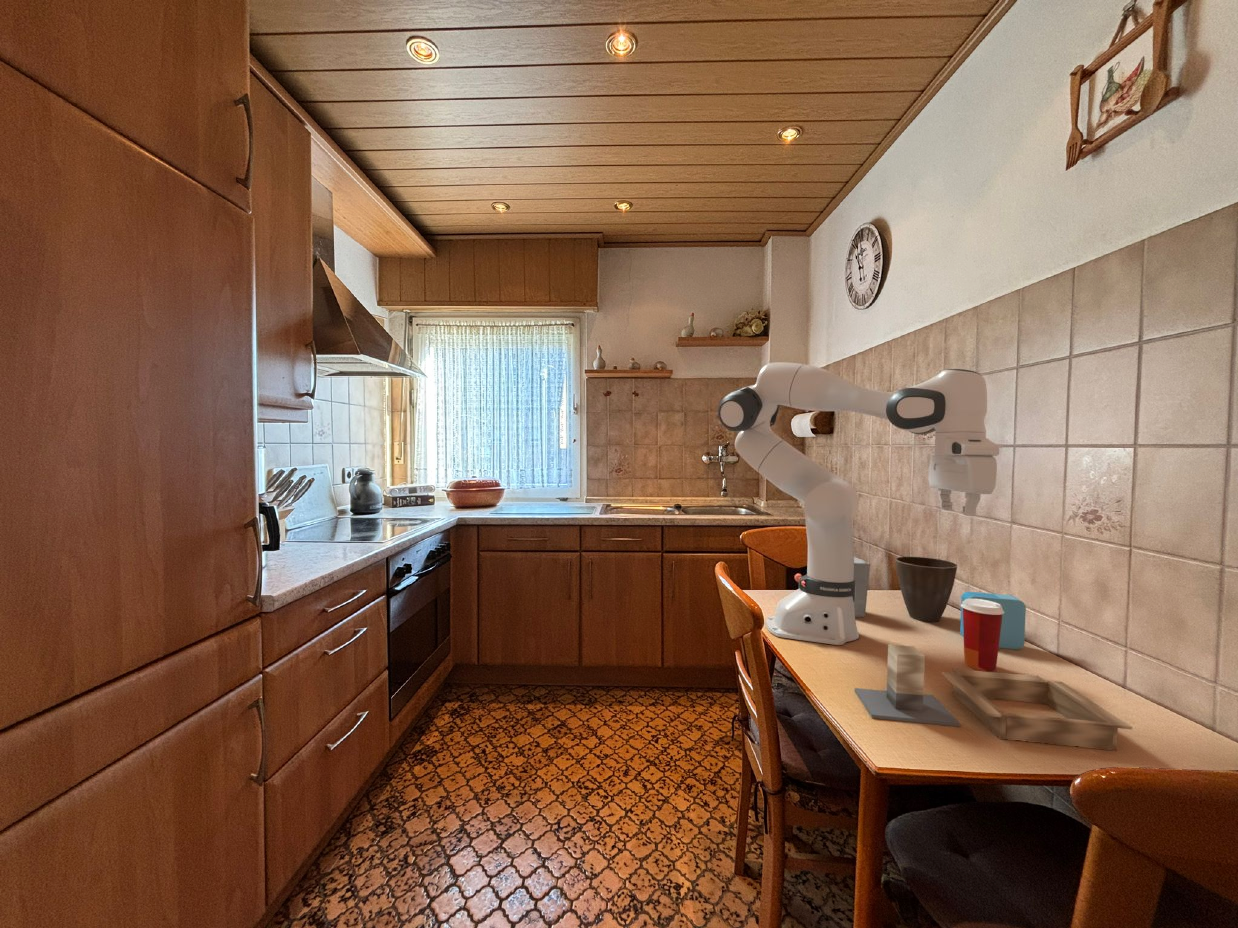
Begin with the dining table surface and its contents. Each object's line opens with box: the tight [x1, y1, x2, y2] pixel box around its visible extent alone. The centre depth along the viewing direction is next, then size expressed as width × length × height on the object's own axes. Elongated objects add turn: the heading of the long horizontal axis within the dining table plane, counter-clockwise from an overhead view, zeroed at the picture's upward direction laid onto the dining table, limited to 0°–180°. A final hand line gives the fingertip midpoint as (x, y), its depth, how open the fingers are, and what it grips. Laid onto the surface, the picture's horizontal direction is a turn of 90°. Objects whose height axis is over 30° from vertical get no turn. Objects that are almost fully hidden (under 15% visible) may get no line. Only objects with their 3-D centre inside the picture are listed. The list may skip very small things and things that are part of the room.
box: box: [886, 644, 926, 712], centre depth 91 cm, size 4×4×10 cm
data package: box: [959, 591, 1027, 651], centre depth 123 cm, size 12×4×12 cm, turn 72°
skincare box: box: [854, 556, 871, 618], centre depth 146 cm, size 8×7×16 cm
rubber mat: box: [854, 687, 961, 727], centre depth 91 cm, size 14×10×1 cm
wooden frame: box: [941, 668, 1133, 752], centre depth 89 cm, size 21×18×4 cm
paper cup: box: [960, 599, 1004, 672], centre depth 110 cm, size 8×8×14 cm
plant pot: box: [895, 556, 958, 623], centre depth 142 cm, size 15×15×16 cm
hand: (957, 512), depth 106 cm, fingers open, 8 cm apart
